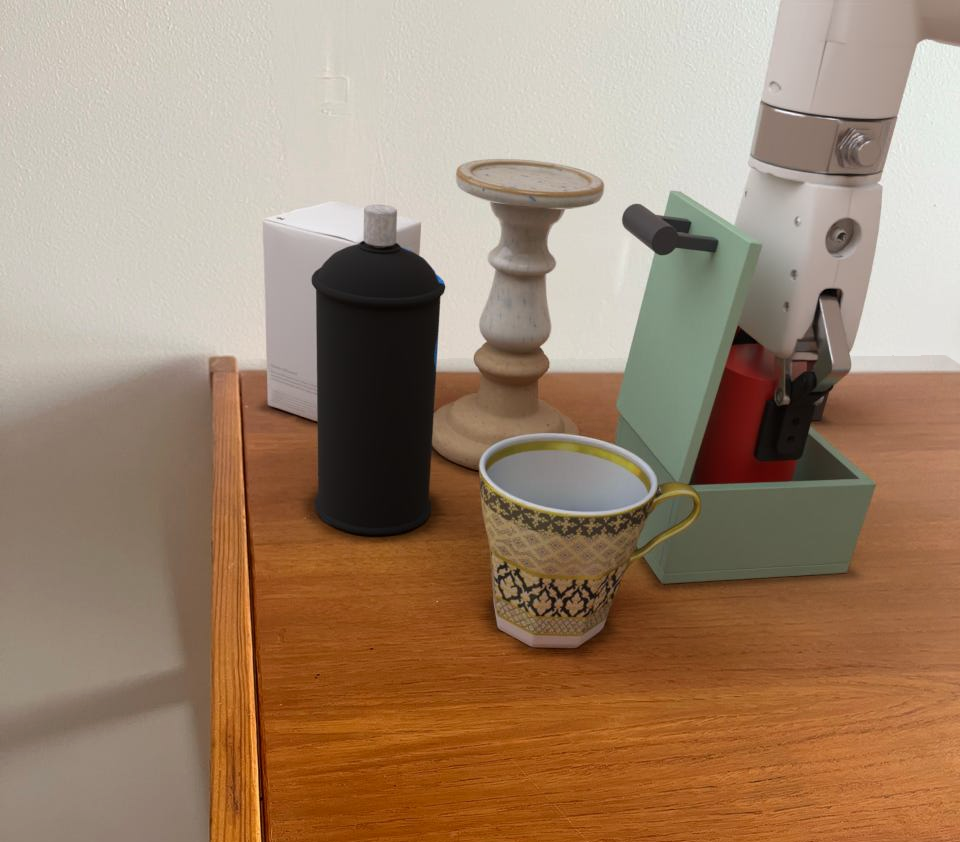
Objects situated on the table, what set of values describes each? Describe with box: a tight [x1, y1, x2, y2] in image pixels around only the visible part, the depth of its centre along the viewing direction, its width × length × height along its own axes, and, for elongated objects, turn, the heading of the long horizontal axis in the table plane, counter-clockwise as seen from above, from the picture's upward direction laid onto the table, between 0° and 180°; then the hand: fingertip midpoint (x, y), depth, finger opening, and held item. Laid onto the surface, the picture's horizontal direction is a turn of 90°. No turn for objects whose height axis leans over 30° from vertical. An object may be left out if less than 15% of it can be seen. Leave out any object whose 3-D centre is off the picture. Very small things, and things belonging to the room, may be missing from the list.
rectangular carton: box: [262, 200, 422, 422], centre depth 82 cm, size 9×9×15 cm
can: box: [691, 344, 807, 485], centre depth 69 cm, size 7×7×10 cm
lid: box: [615, 190, 762, 484], centre depth 63 cm, size 14×12×5 cm
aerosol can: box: [311, 204, 446, 537], centre depth 67 cm, size 8×8×20 cm
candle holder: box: [432, 158, 605, 471], centre depth 77 cm, size 12×12×20 cm
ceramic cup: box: [478, 433, 701, 649], centre depth 60 cm, size 13×10×10 cm
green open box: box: [613, 413, 877, 585], centre depth 71 cm, size 14×12×7 cm
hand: (752, 432), depth 69 cm, fingers closed on can, 6 cm apart
